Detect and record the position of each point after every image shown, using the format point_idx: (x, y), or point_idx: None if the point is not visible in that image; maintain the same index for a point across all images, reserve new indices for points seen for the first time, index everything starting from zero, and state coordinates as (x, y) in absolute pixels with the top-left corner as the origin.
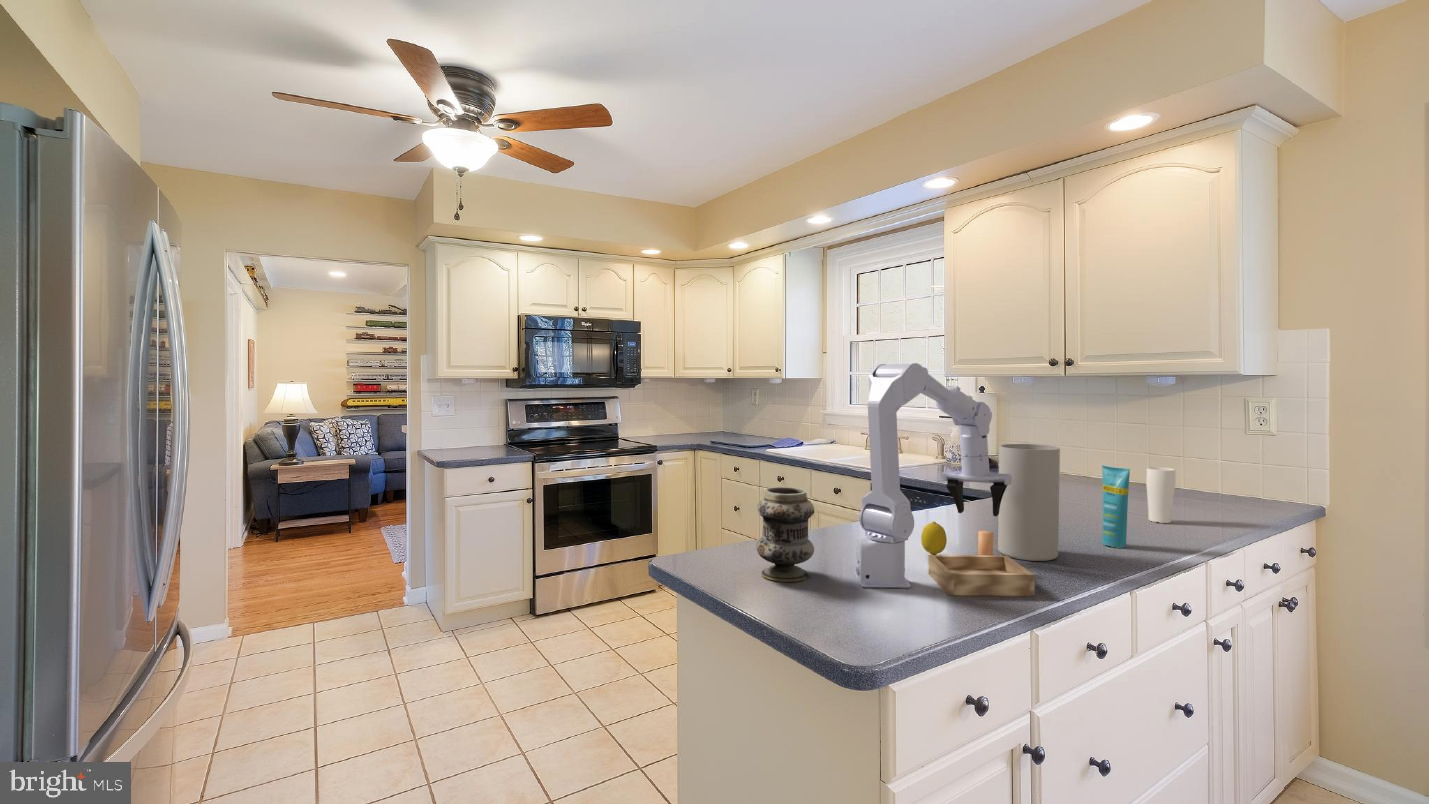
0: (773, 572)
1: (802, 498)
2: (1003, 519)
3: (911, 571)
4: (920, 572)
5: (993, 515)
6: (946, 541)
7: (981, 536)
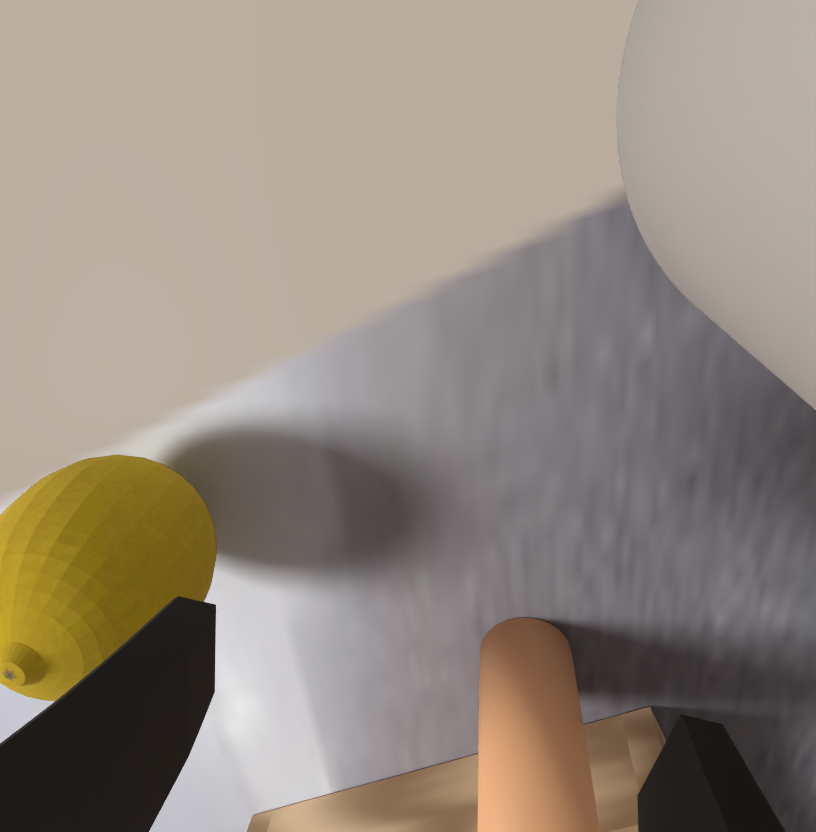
0: None
1: None
2: (774, 358)
3: (166, 801)
4: (209, 802)
5: (640, 808)
6: (206, 560)
7: None
